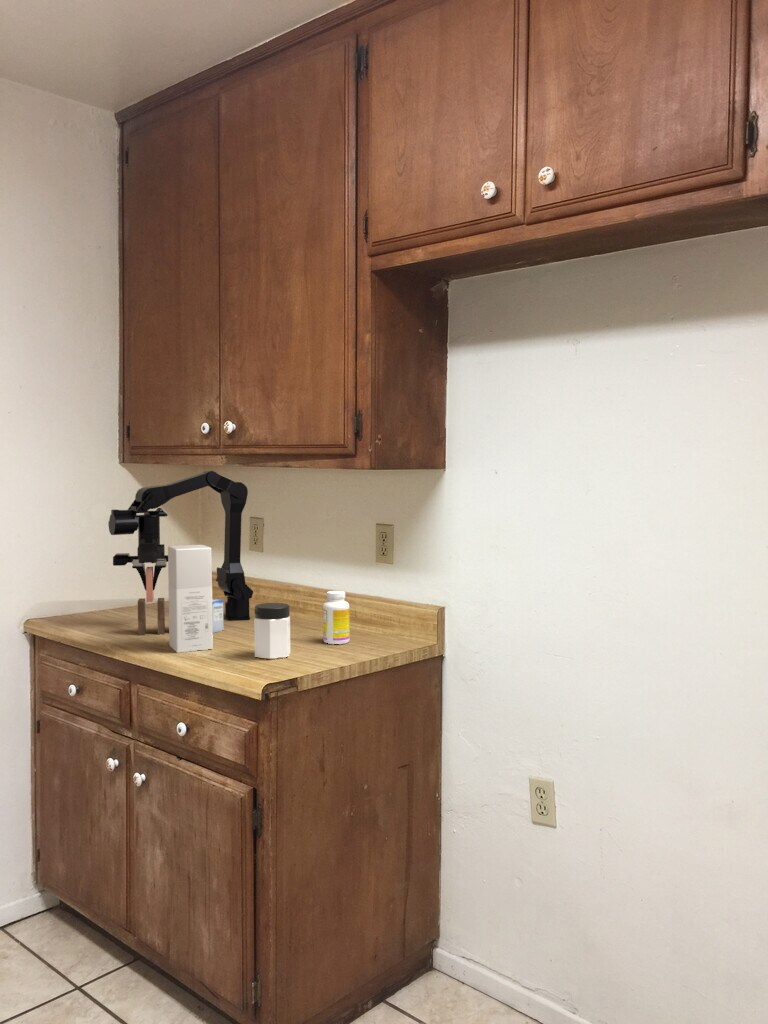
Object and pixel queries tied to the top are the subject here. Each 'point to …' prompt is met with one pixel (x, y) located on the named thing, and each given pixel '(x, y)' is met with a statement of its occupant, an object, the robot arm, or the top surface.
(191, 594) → the tall white carton
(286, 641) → the jar
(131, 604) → the top surface
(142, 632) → the tile
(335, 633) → the supplement bottle
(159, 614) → the tile
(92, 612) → the top surface
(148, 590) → the tile
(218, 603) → the medicine box
